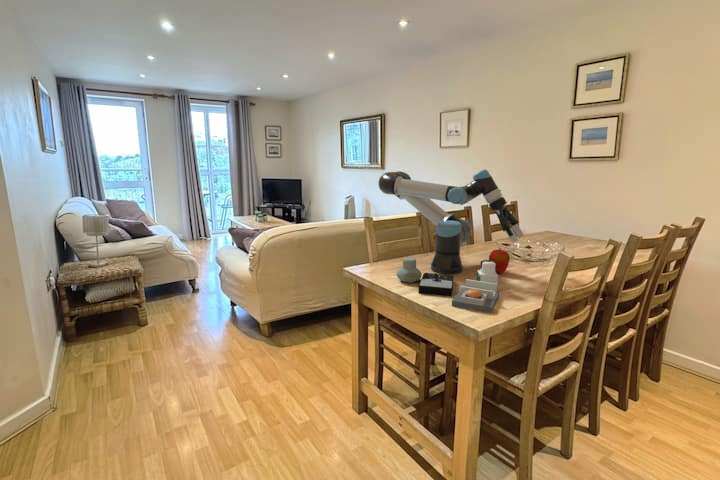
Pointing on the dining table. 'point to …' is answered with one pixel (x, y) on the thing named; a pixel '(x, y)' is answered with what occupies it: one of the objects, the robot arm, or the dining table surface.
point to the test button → (474, 293)
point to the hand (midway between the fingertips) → (518, 239)
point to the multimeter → (436, 284)
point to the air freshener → (409, 271)
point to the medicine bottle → (487, 272)
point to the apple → (500, 260)
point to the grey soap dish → (482, 304)
